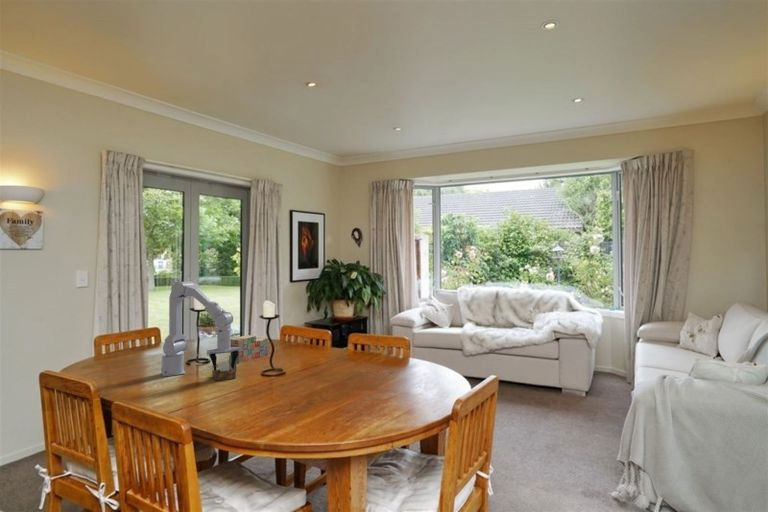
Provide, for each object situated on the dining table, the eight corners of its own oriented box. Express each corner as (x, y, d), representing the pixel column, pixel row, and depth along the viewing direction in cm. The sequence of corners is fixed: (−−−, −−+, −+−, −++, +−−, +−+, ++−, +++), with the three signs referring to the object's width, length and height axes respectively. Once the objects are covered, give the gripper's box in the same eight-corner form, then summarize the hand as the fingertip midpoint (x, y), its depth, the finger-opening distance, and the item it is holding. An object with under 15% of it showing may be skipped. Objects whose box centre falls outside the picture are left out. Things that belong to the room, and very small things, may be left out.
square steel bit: (220, 379, 195) (220, 363, 195) (218, 377, 198) (218, 361, 198) (229, 378, 197) (229, 362, 197) (227, 375, 200) (227, 360, 200)
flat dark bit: (232, 372, 205) (232, 358, 205) (229, 370, 210) (229, 355, 210) (236, 372, 206) (236, 357, 206) (233, 369, 211) (233, 355, 211)
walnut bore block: (216, 381, 192) (216, 374, 192) (212, 376, 199) (212, 370, 199) (235, 378, 196) (235, 371, 196) (231, 373, 203) (231, 367, 203)
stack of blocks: (259, 353, 245) (259, 332, 245) (267, 355, 242) (267, 333, 242) (230, 362, 226) (230, 338, 226) (238, 363, 223) (238, 339, 223)
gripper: (208, 342, 190) (208, 373, 190) (242, 339, 198) (242, 368, 198) (205, 339, 196) (205, 369, 196) (238, 336, 204) (238, 365, 204)
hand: (223, 368), depth 197 cm, fingers open, 7 cm apart
